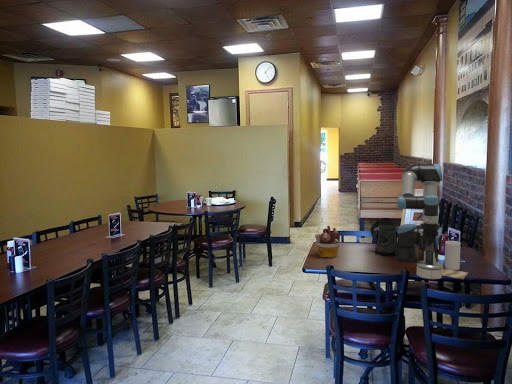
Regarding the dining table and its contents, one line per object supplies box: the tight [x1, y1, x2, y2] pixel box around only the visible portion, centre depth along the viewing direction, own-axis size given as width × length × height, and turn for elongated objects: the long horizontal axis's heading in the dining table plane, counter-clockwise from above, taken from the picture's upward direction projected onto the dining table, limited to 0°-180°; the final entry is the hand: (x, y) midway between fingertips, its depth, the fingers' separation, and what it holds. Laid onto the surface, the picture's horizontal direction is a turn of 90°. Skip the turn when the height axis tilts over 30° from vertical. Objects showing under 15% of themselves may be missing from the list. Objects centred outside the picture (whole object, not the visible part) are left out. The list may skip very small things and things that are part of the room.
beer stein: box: [369, 217, 398, 257], centre depth 283 cm, size 16×19×25 cm
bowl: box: [416, 265, 444, 280], centre depth 233 cm, size 13×13×5 cm
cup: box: [444, 240, 461, 271], centre depth 246 cm, size 8×8×16 cm
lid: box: [416, 250, 444, 269], centre depth 232 cm, size 14×14×8 cm
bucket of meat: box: [314, 225, 341, 258], centre depth 280 cm, size 20×16×20 cm
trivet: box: [443, 268, 469, 280], centre depth 235 cm, size 14×14×1 cm
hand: (429, 262), depth 233 cm, fingers closed on lid, 4 cm apart
